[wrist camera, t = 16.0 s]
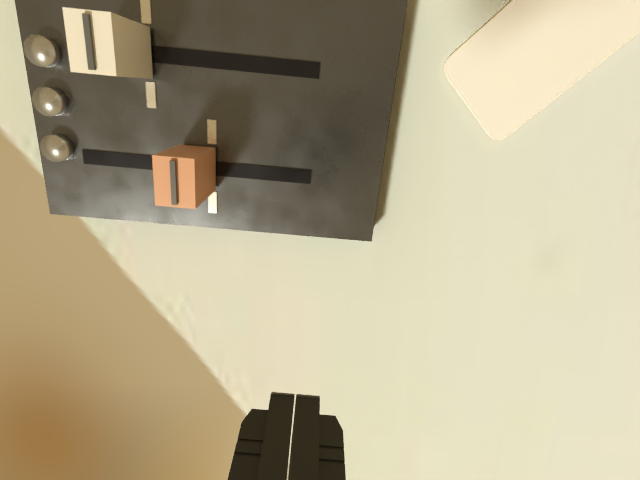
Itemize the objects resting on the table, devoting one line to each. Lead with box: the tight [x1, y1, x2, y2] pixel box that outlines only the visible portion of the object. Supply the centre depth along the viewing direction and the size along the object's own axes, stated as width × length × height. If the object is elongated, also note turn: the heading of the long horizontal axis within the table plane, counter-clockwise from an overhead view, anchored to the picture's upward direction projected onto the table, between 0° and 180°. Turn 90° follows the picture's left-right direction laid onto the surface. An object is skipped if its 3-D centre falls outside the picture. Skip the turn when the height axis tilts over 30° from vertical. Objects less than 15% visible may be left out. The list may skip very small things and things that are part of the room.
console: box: [15, 0, 407, 241], centre depth 27 cm, size 16×24×3 cm, turn 85°
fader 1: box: [62, 7, 153, 79], centre depth 22 cm, size 3×2×5 cm
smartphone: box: [444, 0, 640, 140], centre depth 26 cm, size 7×1×15 cm
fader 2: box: [152, 144, 216, 209], centre depth 25 cm, size 3×2×5 cm
